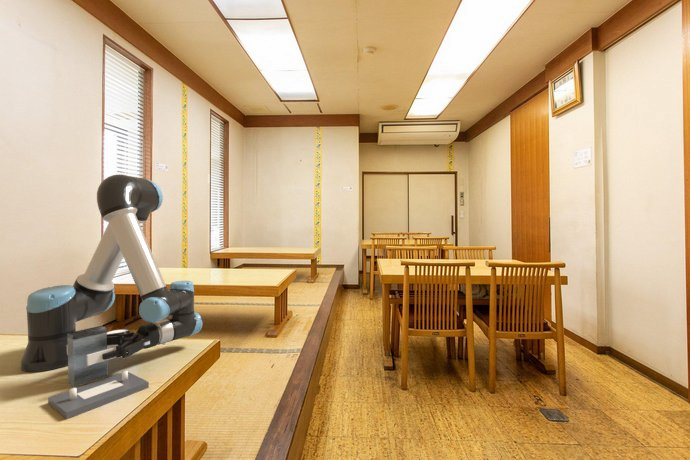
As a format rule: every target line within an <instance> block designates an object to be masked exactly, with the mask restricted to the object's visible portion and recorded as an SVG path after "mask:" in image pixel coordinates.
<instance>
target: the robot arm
mask: <svg viewBox="0 0 690 460" xmlns="http://www.w3.org/2000/svg"><path fill="white" fill-rule="evenodd" d="M163 198H164V195H163V191H162V190H161V188H160V186H159V185H158V184H157V183H156V182H155V181H153V180H149V179H147V178H144V177H137V176H130V175H127V174H112V175H110V176H107V177H106V178H105V179H103V180H102V182H101V183H100V184H99V186H98V188H97V192H96V203H97V207H98V211H99V213H100V215H101V218H102V220H103V221H105V222H107V223H108V224H107V226H106V228H105V231H104V233H103V234H102V236H101V238H100V240H99V242H98V245H97V247H96V248H95V250H94V253H93V254H92V257H91V259H90V261H89V263H88V266H87V268H86V270H85V272H84V273H81V274H79V275H77V277H76V278H75V281H74V283H73V284H72V285H69V284H65V285H64V284H61V285H54V286H49V287H44V288H40V289H37V290H35V291H33V292H31V293H30V294H29V295H28V297H27V298H26V299H27V300H26V301H27V302H26V303H27V304H26V307H25V309H26V320H27V321H26V322H27V336H28V337H27V344H26V347H25V350H24V353H23V356H22V358H21V361H20V369H21V370H22V371H24V372H28V373H29V372H31V373H32V372H34V373H35V372H43V371H49V370H50V371H51V370H56V369H60V368H63V367H68V340H67V333H70V332H75V331H77V330H76V328H77V327H76V325H77V324H76V323H77V322H80V321H83V320H86V319H89V318H92V317H95V316H98V315H99V316H100V315H101V314H103V313H105V312H107V310H109V309H110V308H111V307H112V306H113V304H114V302H115V299H116V294H115V284H114V282H113V279H114V277H115V275H116V273H117V271H118V269H119V267H120V265H121V263H122V261H123V259H124V260H125V261H124V262H125V263H126V265H127V268H128V271H129V273H130V274H131V277H132V280H133V281H134V285H135V287H136V289H137V291H138V293H139V296H140V298H141V300H142V301H141V303H140V304H139V306H138V313H139V316H140V318H141V319H142V320H143V321H144V322H147V323H145V324H142V325H140V326H139V327H138V329H137V331H136V332H134V331H130V330H128V331H125V332H120V333H112V334H107V345H118V346H116V350H115V348H110V349H107V350H103V351H99V352H96V353H92V354H88V355H87V365H88V366H89V365H92V364H96V363H99V362H102V361H106V360H107V361H108V360H112V359H115V358H121V359H127V358H129V357H130V356H132V355H134V354H136V353H137V352H139V351H141V350H147V349H150V348H154V347H156V346H158V345H159V346H160V345H162V346H163V345H166V343H170V342H173V341H177V340H179V339H184V338H188V337H191V336H193V335H195V334H198V333H199V332H200V331H201V330H202V329H203V328H202V327H203V320H202V317H201V314H200V313H198V312H195V288H194V283H193V281H191V280H177V281H173V282H171V283H170V285H169V289H168V287H167V285H166V283H165V279H164V277H163V276H162V273H161V271H160V268H159V266H158V264H157V261H156V259H155V257H154V254H153V252H152V250H151V247H150V245H149V243H148V240H147V238H146V236H145V234H144V231H143V228H142V227H141V224H142V223H146V222H147V220H148V218H149V217H150V214H151V213H153V212H155V211H157V210H158V209H159V208H161V206H162V205H163V204H162V203H163V200H164V199H163ZM168 317H170V318H168Z"/></svg>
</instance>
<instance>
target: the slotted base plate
mask: <svg viewBox="0 0 690 460" xmlns="http://www.w3.org/2000/svg"><path fill="white" fill-rule="evenodd" d="M149 383H150V382H149V381H147V380H146V379H144V378H142V377H140V376H137V375H135V374H133V373H131V372H130V371H128V370H123V371H122V372H120V373H118V374H115V375H112V376H108V377H105V378H102V379H99V380H96V381H93V382H90V383H87V384H86V385H85V384H84V385H83V386H82V385H81V386H78V387H71V388H70V389H69V390H68V391H64V392H61V393H58V394H56V395H51V396H49V397H48V398H47V404H48V405H49V406H50V407H52V409H54V410H55V411H56V412H57V413H59V414H60V415H61V416H62V417H64V418H65V419H66V420H69V419H71V418H74V417H76V416H79V415H81V414H84V413H86V412H89V411H91V410H94V409H96V408H100V407H102V406H104V405H107V404H110V403H112V402H115V401H118V400H120V399H123V398H126V397H128V396H131V395H132V394H135V393H137V392H140V391H143V390H145V389H149V387H150V385H149Z"/></svg>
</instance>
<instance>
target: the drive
mask: <svg viewBox="0 0 690 460" xmlns="http://www.w3.org/2000/svg"><path fill="white" fill-rule="evenodd" d="M107 332H108V331H107V327H104V326H103V325H98V326H95V327H89V328H84V329H79V330H76V331H75V332H70V333H67V340H68V365H67V370H68V373H67V375H68V384H69V385H70V386H72V388H78V387H81V386H82V385H83V386H84V385H85V384H86V385H87V384H90V383H93V382H96V381H99V380H102V379H105V378H108V377H109V376H108V375H109V374H108V373H109V371H108V367H109V366H108V360H106V361H102V362H99V363H96V364H92V365H89V366H88V365H87V355H88V354H92V353H96V352H99V351H103V350H107Z"/></svg>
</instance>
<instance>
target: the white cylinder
mask: <svg viewBox="0 0 690 460" xmlns="http://www.w3.org/2000/svg"><path fill="white" fill-rule="evenodd" d="M125 331H129V329H121V328H120V329H115V330H111V331H107V334H112V333H120V332H125ZM116 346H118V345H107V349H110V348H115V350H116Z"/></svg>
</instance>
